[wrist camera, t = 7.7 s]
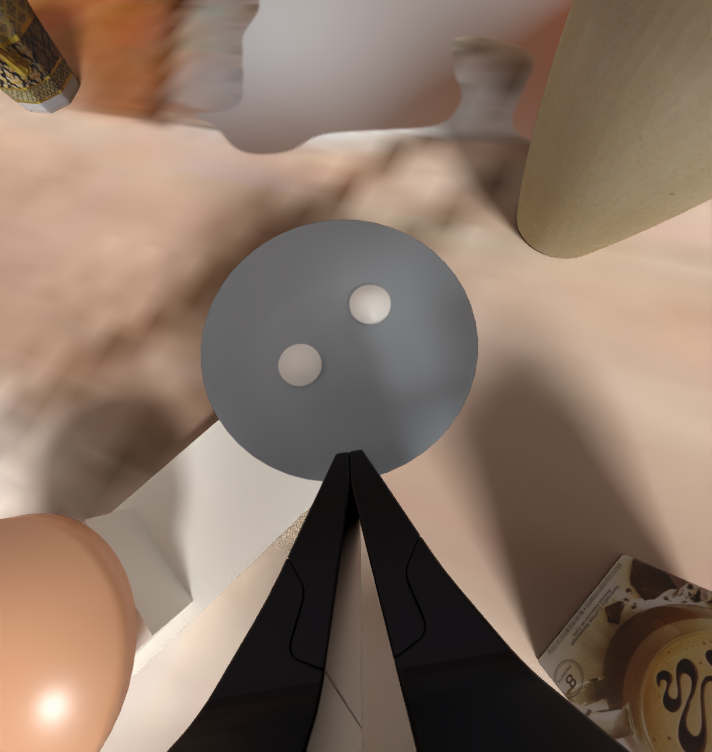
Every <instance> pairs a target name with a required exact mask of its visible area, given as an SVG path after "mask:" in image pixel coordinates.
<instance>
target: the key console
mask: <svg viewBox="0 0 712 752" xmlns="http://www.w3.org/2000/svg"><path fill="white" fill-rule="evenodd" d="M322 482H323V481H315V480H307V479H303V478H299V477H296V476H292V475H288V474H286V473H283V472H281V471H279V470H276V469H274V468H272V467H270V466H268V465H266V464H265V463H263V462H261V461H260V460H258V459H256V458H255V457H253V456H252V455H251V454H250V453H248V452H247V451H246V450H245V449H244V448H242V447H241V446H240V445H239V444H238V443H237V442H236V441H235V440H234V439H233V437H232V436H231V435H230V434H229V433H228V432H227V431H226V429H225V428H224V426H223V425H222V423H221V422H220V420H218V421H217V422H216V423H215V424H213V425H212V426H211V427H210V428H209V429H208V430H206V431H205V432H204V433H203V434H202V435H201V436H199V437H198V438H197V439H196V440H195V441H194V442H192V443H191V444H190V445H189V446H188V447H187V448H185V449H184V450H183V451H182V452H181V453H180V454H178V455H177V456H176V457H175V458H174V459H173V460H171V461H170V462H169V463H168V464H167V465H166V466H164V467H163V468H162V469H161V470H160V471H159V472H157V473H156V474H155V475H154V476H153V477H152V478H150V479H149V480H148V481H147V482H146V483H145V484H144V485H142V486H141V487H140V488H139V489H138V490H137V491H135V492H134V493H133V494H132V495H131V496H130V497H128V498H127V499H126V500H125V501H124V502H123V503H121V504H120V505H119V506H118V507H117V508H116V509H114V510H113V511H112V512H111V513H109V514H105V515H101V516H97V517H93V518H89V519H85V520H84V521H82V522H81V523H83V524H85V525H87V526H88V527H90V528H91V529H92V530H94V531H95V532H96V533H98V534H99V535H100V536H101V537H102V538H103V539H104V540H105V541H106V542H107V543H108V544H109V545H110V547H111V548H112V549H113V551H114V552H115V554H116V555H117V557H118V558H119V560H120V562H121V564H122V566H123V568H124V570H125V572H126V574H127V577H128V580H129V583H130V586H131V589H132V594H133V599H134V604H135V612H136V624H137V633H136V651H135V658H134V666H133V671H132V675H131V678H132V677H133V676H134V675H135V674H136V673H137V672H138V671H139V670H140V669H141V668H142V667H143V666H144V665H145V664H146V663H147V662H148V661H150V660H151V659H152V658H153V657H154V656H155V655H156V654H157V653H158V652H159V651H160V650H161V649H162V648H163V647H164V646H165V645H166V644H167V643H168V642H169V641H170V640H172V639H173V638H174V637H175V636H176V635H177V634H178V633H179V632H180V631H181V630H182V629H183V628H184V627H185V626H186V625H187V624H188V623H189V622H190V621H191V620H192V619H194V618H195V617H196V616H197V615H198V614H199V613H200V612H201V611H202V610H203V609H204V608H205V607H206V606H207V605H208V604H209V603H210V602H211V601H212V600H213V599H214V598H216V597H217V596H218V595H219V594H220V593H221V592H222V591H223V590H224V589H225V588H226V587H227V586H228V585H229V584H230V583H231V582H232V581H233V580H234V579H235V578H236V577H237V576H239V575H240V574H241V573H242V572H243V571H244V570H245V569H246V568H247V567H248V566H249V565H250V564H251V563H252V562H253V561H254V560H255V559H256V558H257V557H258V556H259V555H261V554H262V553H263V552H264V551H265V550H266V549H267V548H268V547H269V546H270V545H271V544H272V543H273V542H274V541H275V540H276V539H277V538H278V537H279V536H280V535H281V534H283V533H284V532H285V531H286V530H287V529H288V528H289V527H290V526H291V525H292V524H293V523H294V522H295V521H296V520H297V519H298V518H299V517H300V516H301V515H302V514H303V513H305V512H306V511H307V510H308V509H309V508H310V507H311V506H312V504H313V502H314V499H315V497H316V495H317V493H318V491H319V489H320V487H321V484H322Z"/></svg>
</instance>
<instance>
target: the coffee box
mask: <svg viewBox="0 0 712 752" xmlns="http://www.w3.org/2000/svg"><path fill="white" fill-rule="evenodd" d="M539 663H540V665H541V666H542V667H543V669H544V670H545V671H546V672H547V674H548V675H549V676H550V678H551V679H552V680H553V681H554V683H555V684H556V685H557V687H558V688H559V689H560V690H561V692H562V693H563V694H564V695H565V697H566V698H567V699H568V701H569V702H570V703H572V704H573V705H574V706H575V707H576V708H578V709H579V710H580V711H581V712H583V713H584V714H585V715H586V716H587V717H589V718H590V719H591V720H592V721H594V722H595V723H596V724H597V725H598V726H600V727H601V728H602V729H603V730H604V731H606V732H607V733H608V734H609V735H611V736H612V737H613V738H614V739H615V740H617V741H618V742H619V743H620V744H622V745H623V746H624V747H625V748H626V749H628V750H629V751H630V752H712V591H709V590H707V589H705V588H702V587H700V586H698V585H696V584H693V583H690V582H688V581H686V580H683V579H681V578H679V577H676V576H674V575H672V574H669V573H667V572H665V571H662V570H660V569H658V568H655V567H653V566H651V565H649V564H646V563H644V562H642V561H639V560H637V559H635V558H633V557H630V556H628V555H622V556H621V557H620V558H619V560H618V561H617V562H616V563H615V564H614V566H613V567H612V568H611V570H610V571H609V572H608V573H607V575H606V576H605V577H604V578H603V580H602V581H601V582H600V583H599V585H598V586H597V587H596V588H595V590H594V591H593V592H592V593H591V595H590V596H589V597H588V598H587V600H586V601H585V602H584V603H583V605H582V606H581V607H580V608H579V610H578V611H577V612H576V613H575V615H574V616H573V617H572V618H571V620H570V621H569V622H568V623H567V625H566V626H565V627H564V628H563V630H562V631H561V632H560V633H559V635H558V636H557V637H556V638H555V640H554V641H553V642H552V643H551V645H550V646H549V647H548V648H547V650H546V651H545V652H544V653H543V655H542V656H541V657H540V658H539Z"/></svg>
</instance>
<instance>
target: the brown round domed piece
mask: <svg viewBox="0 0 712 752" xmlns="http://www.w3.org/2000/svg"><path fill="white" fill-rule="evenodd" d="M136 633H137V624H136V612H135V604H134V599H133V594H132V589H131V586H130V583H129V580H128V577H127V574H126V572H125V570H124V568H123V566H122V564H121V562H120V560H119V558H118V557H117V555H116V554H115V552H114V551H113V549H112V548H111V547H110V545H109V544H108V543H107V542H106V541H105V540H104V539H103V538H102V537H101V536H100V535H99V534H98V533H96V532H95V531H94V530H92V529H91V528H90V527H88V526H87V525H85V524H83V523H81V522H79V521H77V520H75V519H71V518H68V517H65V516H62V515H55V514H48V513H43V514H27V515H21V516H15V517H10V518H5V519H0V752H100V750H101V748H102V746H103V745H104V743H105V741H106V740H107V738H108V736H109V735H110V733H111V731H112V729H113V726H114V724H115V722H116V720H117V718H118V716H119V713H120V711H121V708H122V705H123V703H124V700H125V697H126V694H127V691H128V688H129V683H130V679H131V675H132V671H133V666H134V658H135V651H136Z"/></svg>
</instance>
